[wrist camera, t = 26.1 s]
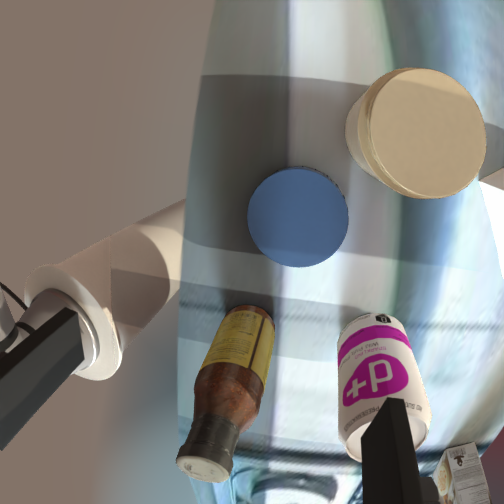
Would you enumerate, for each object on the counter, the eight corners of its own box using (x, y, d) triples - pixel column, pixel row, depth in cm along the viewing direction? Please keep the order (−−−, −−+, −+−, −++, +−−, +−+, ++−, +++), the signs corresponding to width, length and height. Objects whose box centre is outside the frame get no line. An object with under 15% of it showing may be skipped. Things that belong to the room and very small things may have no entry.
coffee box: (460, 467, 40) (473, 531, 25) (431, 473, 41) (440, 541, 26) (475, 440, 37) (494, 511, 22) (444, 448, 38) (459, 523, 24)
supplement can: (329, 321, 34) (327, 424, 21) (399, 301, 32) (435, 397, 18) (345, 373, 36) (346, 473, 23) (408, 356, 34) (434, 452, 20)
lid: (238, 183, 31) (232, 186, 29) (330, 154, 29) (332, 155, 26) (268, 269, 34) (265, 278, 32) (357, 246, 31) (359, 254, 29)
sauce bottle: (214, 324, 38) (140, 454, 19) (246, 291, 35) (176, 431, 17) (256, 356, 38) (209, 495, 20) (290, 326, 36) (258, 478, 17)
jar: (335, 166, 29) (346, 181, 18) (354, 78, 26) (375, 41, 14) (421, 192, 28) (473, 222, 17) (440, 106, 24) (501, 93, 13)
